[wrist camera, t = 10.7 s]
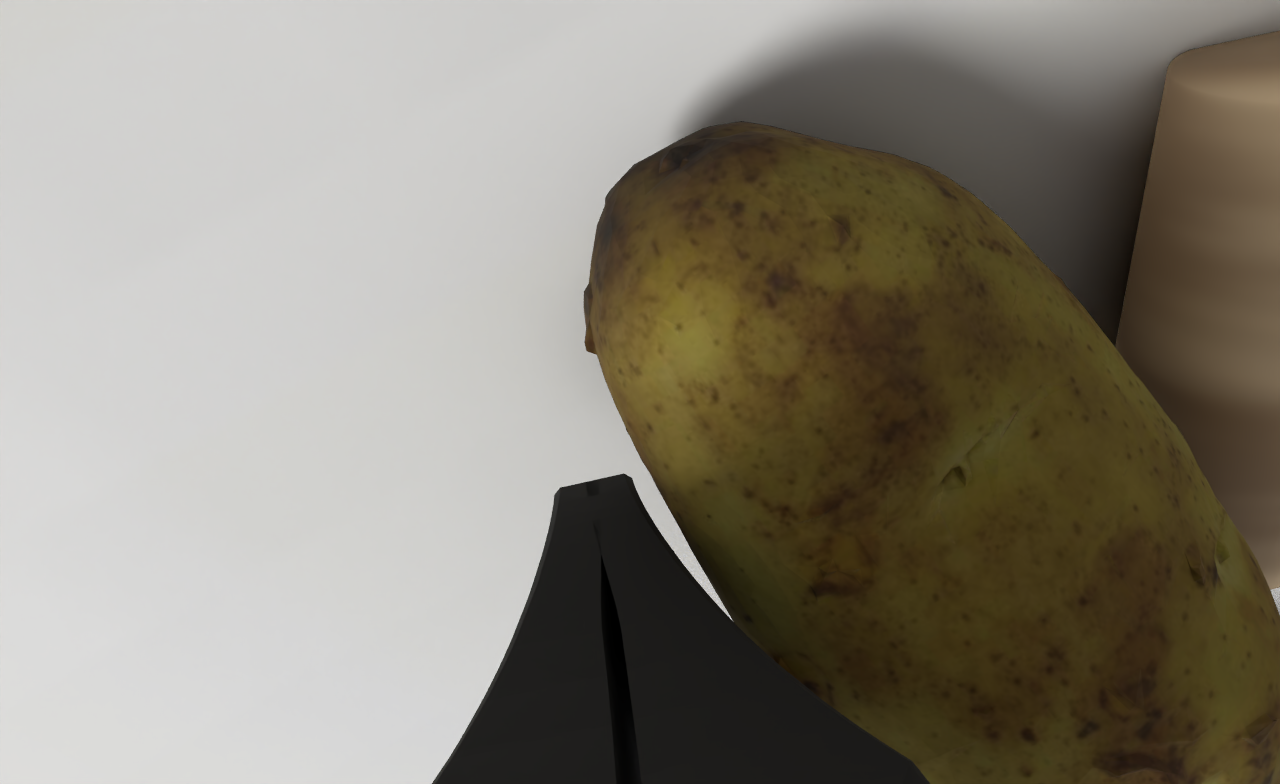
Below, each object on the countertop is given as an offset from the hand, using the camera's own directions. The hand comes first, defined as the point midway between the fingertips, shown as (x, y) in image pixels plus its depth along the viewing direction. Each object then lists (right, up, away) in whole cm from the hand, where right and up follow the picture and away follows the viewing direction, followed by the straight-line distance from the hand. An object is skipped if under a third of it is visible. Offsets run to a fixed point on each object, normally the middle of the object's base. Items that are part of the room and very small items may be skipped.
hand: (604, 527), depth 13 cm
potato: (+5, +3, +3) cm, 6 cm away
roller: (+11, +4, +3) cm, 12 cm away
